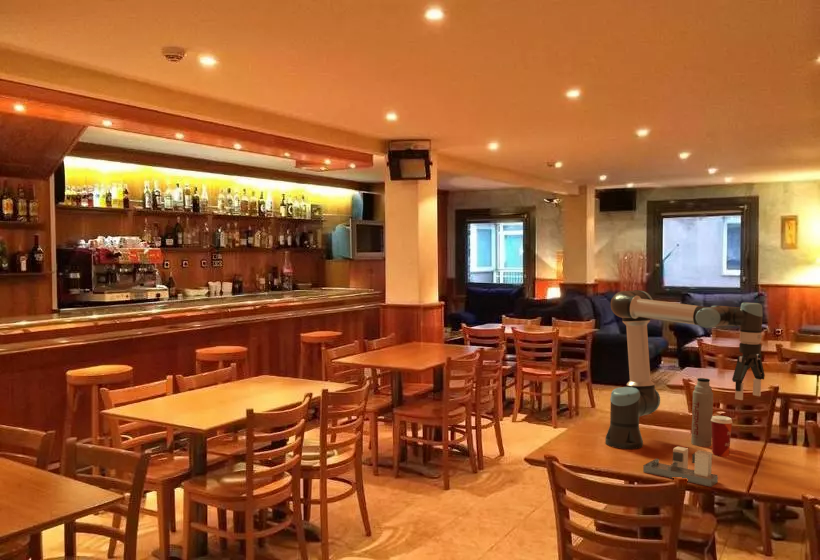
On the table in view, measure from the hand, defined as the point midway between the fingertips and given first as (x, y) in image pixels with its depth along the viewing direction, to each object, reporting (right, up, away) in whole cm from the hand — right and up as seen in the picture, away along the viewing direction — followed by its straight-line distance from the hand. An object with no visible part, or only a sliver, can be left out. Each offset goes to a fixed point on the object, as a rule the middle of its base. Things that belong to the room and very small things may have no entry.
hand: (747, 397), depth 270 cm
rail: (-33, -26, -18) cm, 46 cm away
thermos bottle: (-7, -25, +27) cm, 37 cm away
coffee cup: (-5, -25, +12) cm, 28 cm away
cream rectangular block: (-30, -25, -9) cm, 40 cm away
